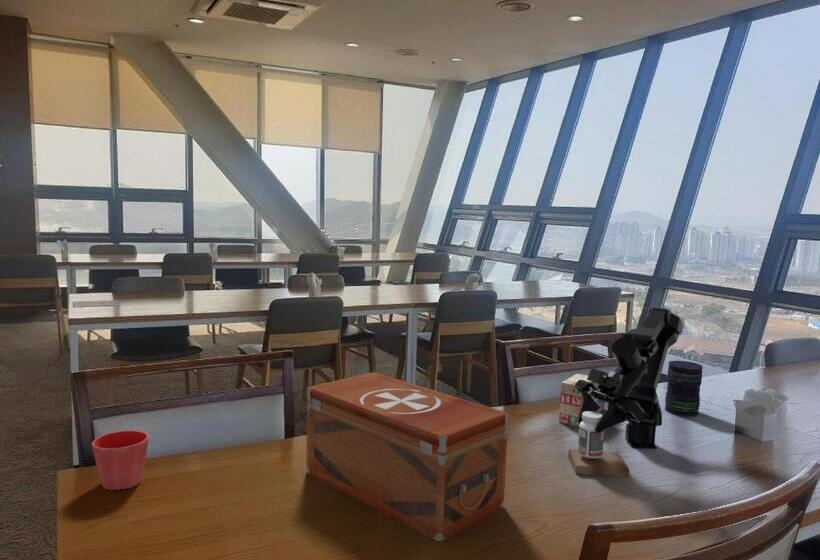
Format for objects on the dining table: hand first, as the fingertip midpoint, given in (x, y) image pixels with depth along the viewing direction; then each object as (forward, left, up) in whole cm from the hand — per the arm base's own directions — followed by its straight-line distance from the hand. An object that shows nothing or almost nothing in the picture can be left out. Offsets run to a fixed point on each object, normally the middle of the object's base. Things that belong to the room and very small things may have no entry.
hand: (587, 427), depth 146 cm
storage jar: (-39, -48, -10) cm, 62 cm away
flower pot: (+102, +23, -10) cm, 105 cm away
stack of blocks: (-7, -38, -10) cm, 40 cm away
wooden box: (+43, +18, -10) cm, 47 cm away
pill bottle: (-1, -1, -7) cm, 7 cm away
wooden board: (-3, -1, -10) cm, 10 cm away
